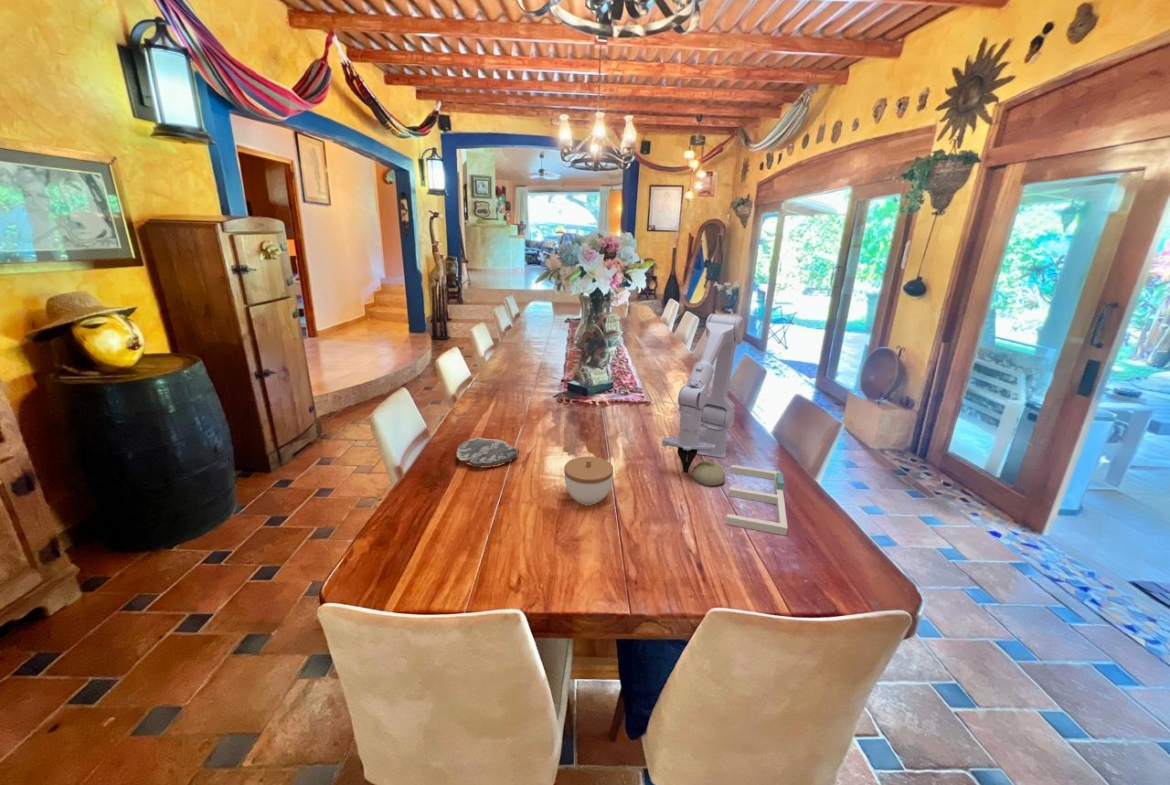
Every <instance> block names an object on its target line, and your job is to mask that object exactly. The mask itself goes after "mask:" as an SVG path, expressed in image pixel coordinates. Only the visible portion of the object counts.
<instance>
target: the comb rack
mask: <svg viewBox="0 0 1170 785" xmlns="http://www.w3.org/2000/svg"><path fill="white" fill-rule="evenodd" d="M730 474H735V475H741V476H748V477H753V478H758V479H759V478H760V479H765V480H771V481H774V491H775V493H768V492H763V491H757V490H750V489H746V488H738V487H734V486H729V488H728V489H729V490H728V497H732V498H738V499H743V500H748V501H754V502H761V503H767V504H770V505H771V504H772V505H776V509H777V510H776V512H777V522H775V521H769V520H764V519H759V518H754V517H753V518H752V517H747V516H742V515H736V514H731V513H726V522H725V525H728V526H729V525H730V526H733V527H740V528H743V529H750V530H755V531H761V532H764V533H765V532H766V533H770V534H775V535H776V534H777V535H781V536H787V534H788V529H789V528H788V520H787V513H786V504H785V496H784V486H785V481H784V474H783V472H781V471H777V470H776V471H775V470H768V469H761V468H756V467H755V468H754V467H749V466H748V467H747V466H742V465H736V464H731V467H730Z"/></svg>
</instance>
